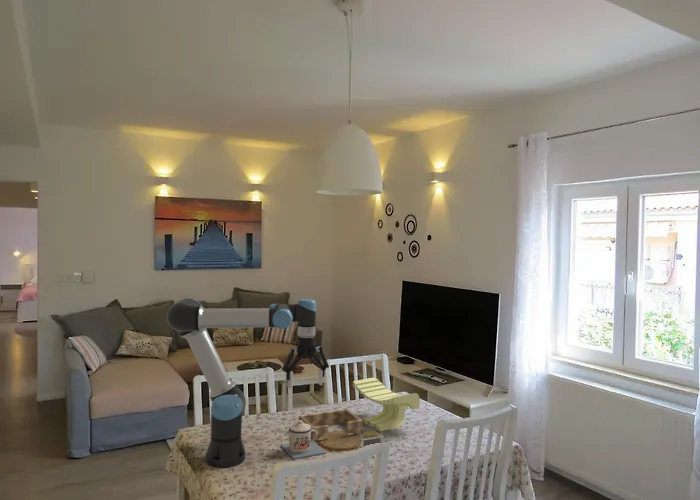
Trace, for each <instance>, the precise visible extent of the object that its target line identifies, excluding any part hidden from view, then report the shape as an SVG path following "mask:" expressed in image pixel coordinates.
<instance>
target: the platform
mask: <svg viewBox="0 0 700 500" xmlns="http://www.w3.org/2000/svg"><path fill="white" fill-rule="evenodd" d="M381 438H384V435H383V434H381V433H378V431H376V430H372V431H371V430H370V431H365V432H364V431H363V434H361V435H360V439H361V440H362V441H363V447H364V446H366V445H370V444H375V443H380V444H381Z"/></svg>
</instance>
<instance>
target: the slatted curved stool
mask: <svg viewBox="0 0 700 500" xmlns="http://www.w3.org/2000/svg"><path fill="white" fill-rule="evenodd" d="M352 388H356V391H357V392H359V395H363V398H365V399H367V400H369V401H372V402H374V403H377V404H379V405H381V406H382V411H381V412H380V413H378V414H377V415H376V414H375V415H374V416H371V417H367V418H364V419H363V424H365V425H367V426H369V427H371V428H373V429H375V430H377V431H379V432H383V431H387V430H390V429H395V428H398V427H402V426H403V425H404V421H405V416H406V409H407V408H409V409H411V410H416V409H417V410H418V409H420V402H421V401H420V400H421V399H420V396H419V394H418V393H417V392H413V393H408V394H399V393H396V392H394V391H392V390H390V389H388V388H387V386H385V385H384V383H382V382H381V381H380V379H378V378H377V377H376V378H375V377H369V378H363V379H358V380H353V381H352Z"/></svg>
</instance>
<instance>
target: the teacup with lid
mask: <svg viewBox="0 0 700 500" xmlns="http://www.w3.org/2000/svg"><path fill="white" fill-rule="evenodd" d="M288 429H289V430H288V431H289V434H288V435H289V439H288V440H289V442H288V444H289V450H290V451H292V452H294V453H304V452H307V451H309V450H310V442H312V441H314V440H315V439H316V437H317V431H316V430H314V429H311V426H310V425H308V424H305V423H303V421H302V420H299V419H298V421H297V422H295V423H293V424H291V425H290V426H289V428H288ZM311 432H315V436H314V438H313V439H311V440H310V437H311Z"/></svg>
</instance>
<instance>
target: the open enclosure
mask: <svg viewBox="0 0 700 500" xmlns="http://www.w3.org/2000/svg"><path fill="white" fill-rule="evenodd" d="M299 420H302V421H303V423H305V424H308V425H310V426H311V429H314V430H316V431H317V437H316V439H315V440H314V442H315V443H317V442H318V441H317V439H318V438H320V437H322V436H325V435H328V436H329V426H332V425H333V426H334V425H340V424H346V425H347V429H346V430H347V431H346V433H347V432H348V433H353V434H357V435H364V423H363V421H364V419H363V418H360V417H359V416H357V415H356V414H355V413H353V412H351V411H350V410H348V409H345V408H344V409H338V410H332V411H330V410H329V411H325V412H318V413H309V414H304V415H303V414H302V415H298V421H299ZM357 435H356V436H357ZM314 436H315V432H311V437H310V440H311V439H313V438H314ZM316 441H317V442H316Z"/></svg>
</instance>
